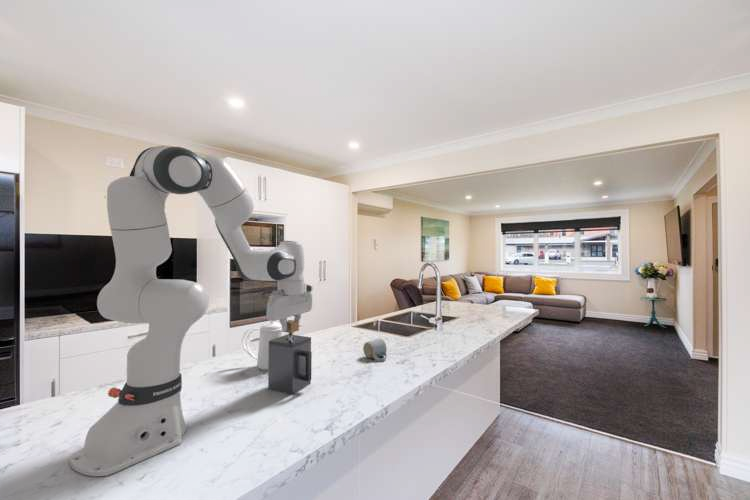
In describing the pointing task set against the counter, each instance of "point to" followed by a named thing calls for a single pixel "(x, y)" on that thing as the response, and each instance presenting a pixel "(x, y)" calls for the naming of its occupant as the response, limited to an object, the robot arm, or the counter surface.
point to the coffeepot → (265, 342)
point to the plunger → (292, 327)
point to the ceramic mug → (375, 349)
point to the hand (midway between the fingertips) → (290, 328)
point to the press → (289, 364)
